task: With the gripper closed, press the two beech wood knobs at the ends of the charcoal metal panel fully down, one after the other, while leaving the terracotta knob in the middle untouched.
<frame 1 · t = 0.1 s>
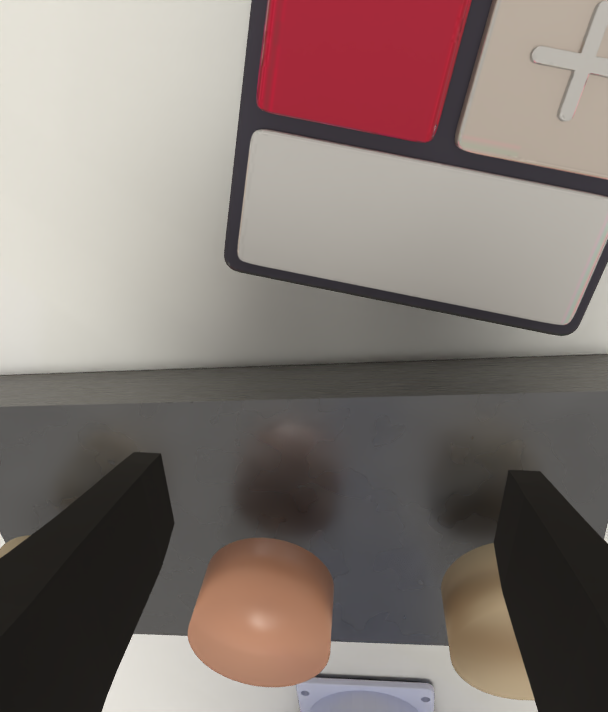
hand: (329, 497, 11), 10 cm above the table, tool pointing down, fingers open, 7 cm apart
knob 1: (519, 620, 18), point 6 cm above the table, slide at 0.0 cm
knob middle: (264, 612, 19), point 6 cm above the table, slide at 0.0 cm
knob 2: (39, 605, 21), point 6 cm above the table, slide at 0.0 cm
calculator: (453, 32, 16), on the table
knob panel: (286, 495, 25), on the table
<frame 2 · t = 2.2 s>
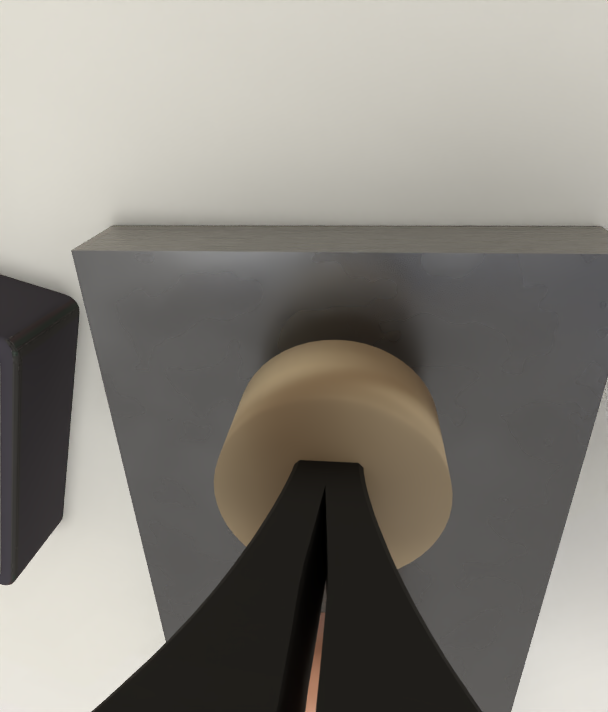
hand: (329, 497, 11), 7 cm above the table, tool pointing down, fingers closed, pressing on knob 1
knob 1: (333, 460, 12), point 6 cm above the table, slide at 0.5 cm, touching gripper
knob middle: (332, 703, 16), point 6 cm above the table, slide at 0.0 cm
knob panel: (341, 546, 21), on the table
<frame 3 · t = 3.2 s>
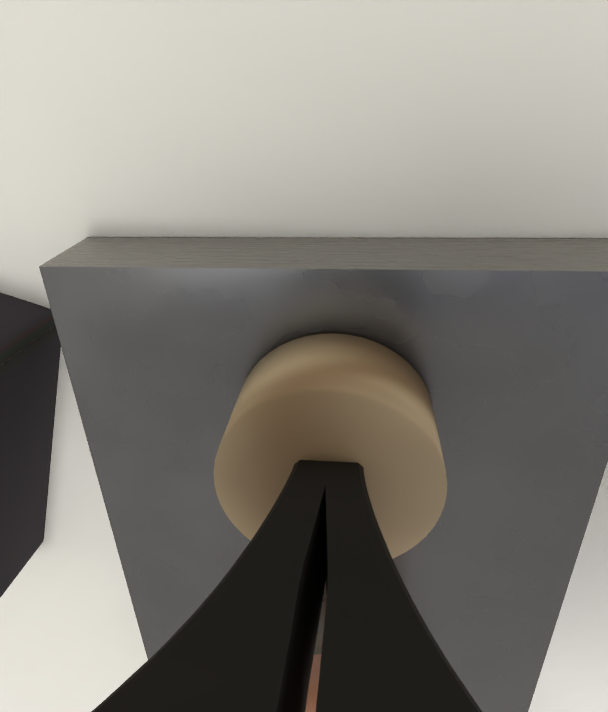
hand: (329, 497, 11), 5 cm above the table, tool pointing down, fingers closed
knob 1: (331, 452, 12), point 4 cm above the table, slide at 2.1 cm
knob panel: (337, 572, 20), on the table
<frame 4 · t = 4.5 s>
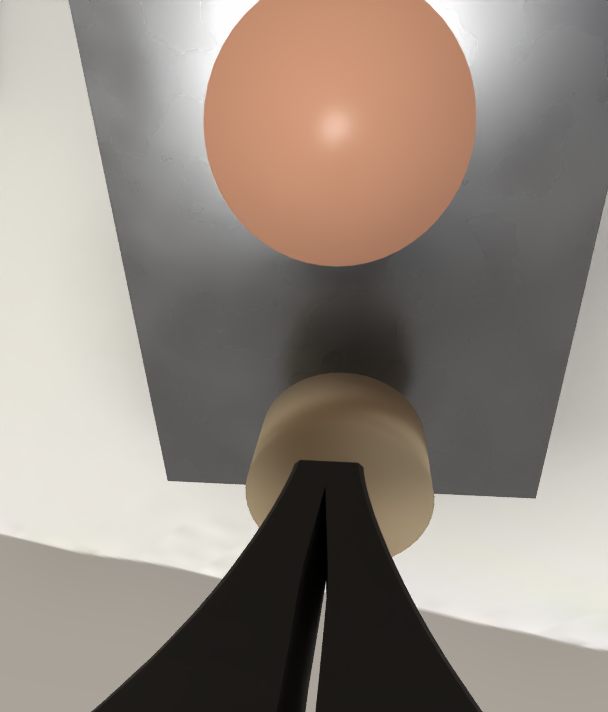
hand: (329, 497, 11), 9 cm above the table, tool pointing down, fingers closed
knob middle: (339, 129, 11), point 6 cm above the table, slide at 0.0 cm
knob 2: (340, 469, 15), point 6 cm above the table, slide at 0.0 cm
knob panel: (348, 110, 16), on the table
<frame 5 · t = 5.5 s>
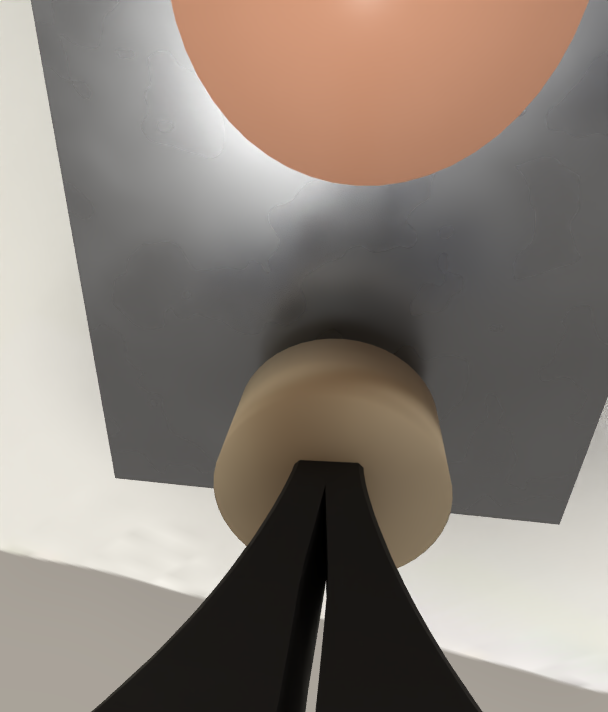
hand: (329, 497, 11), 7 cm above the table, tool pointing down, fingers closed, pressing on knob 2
knob 2: (333, 459, 12), point 5 cm above the table, slide at 0.7 cm, touching gripper
knob panel: (370, 17, 12), on the table
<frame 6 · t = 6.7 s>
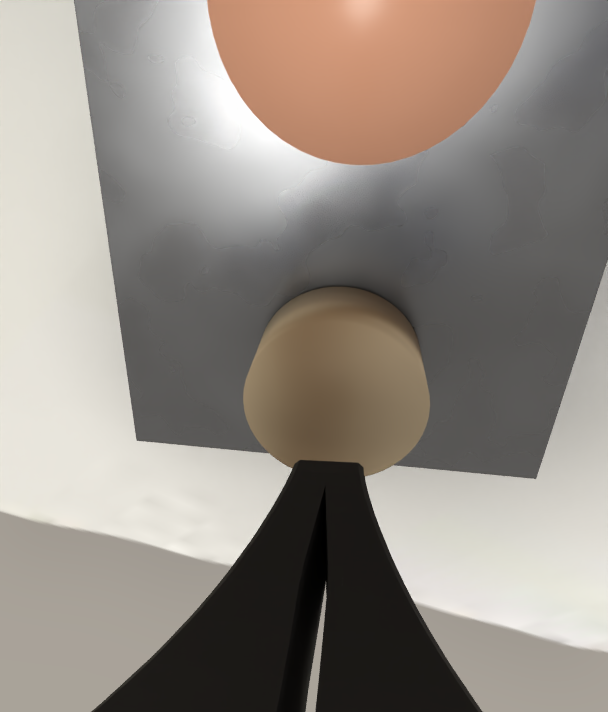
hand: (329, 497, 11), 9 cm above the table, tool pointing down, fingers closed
knob middle: (367, 1, 9), point 6 cm above the table, slide at 0.0 cm
knob 2: (337, 383, 15), point 4 cm above the table, slide at 2.1 cm
knob panel: (366, 27, 14), on the table
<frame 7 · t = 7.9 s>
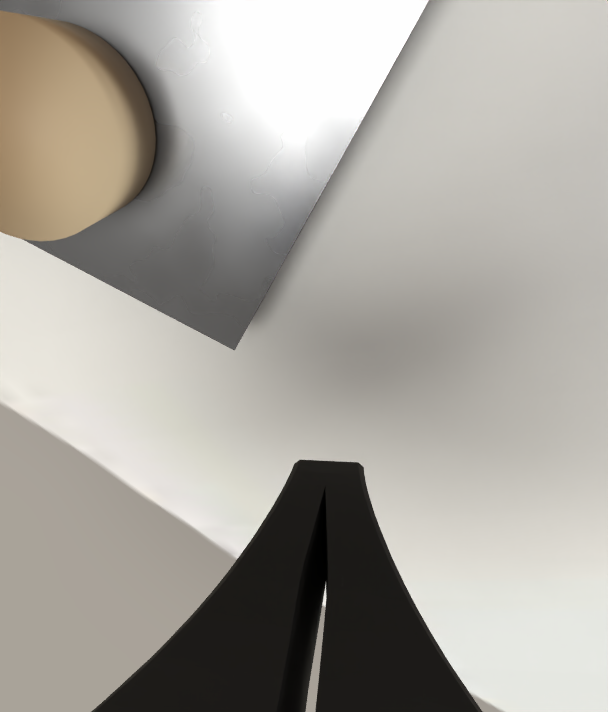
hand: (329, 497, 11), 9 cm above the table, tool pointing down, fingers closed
knob 2: (42, 131, 13), point 4 cm above the table, slide at 2.1 cm
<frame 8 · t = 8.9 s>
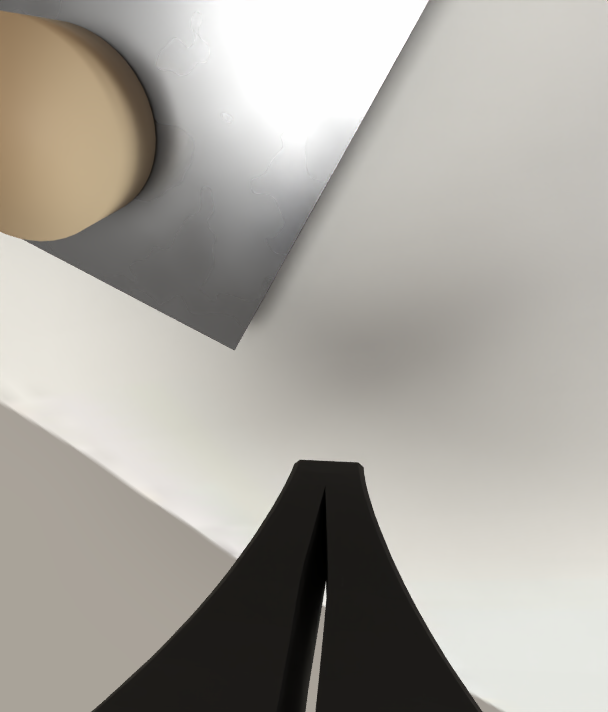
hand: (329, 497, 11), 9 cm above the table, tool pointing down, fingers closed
knob 2: (42, 131, 13), point 4 cm above the table, slide at 2.1 cm
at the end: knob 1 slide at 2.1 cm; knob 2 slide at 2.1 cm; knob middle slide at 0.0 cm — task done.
